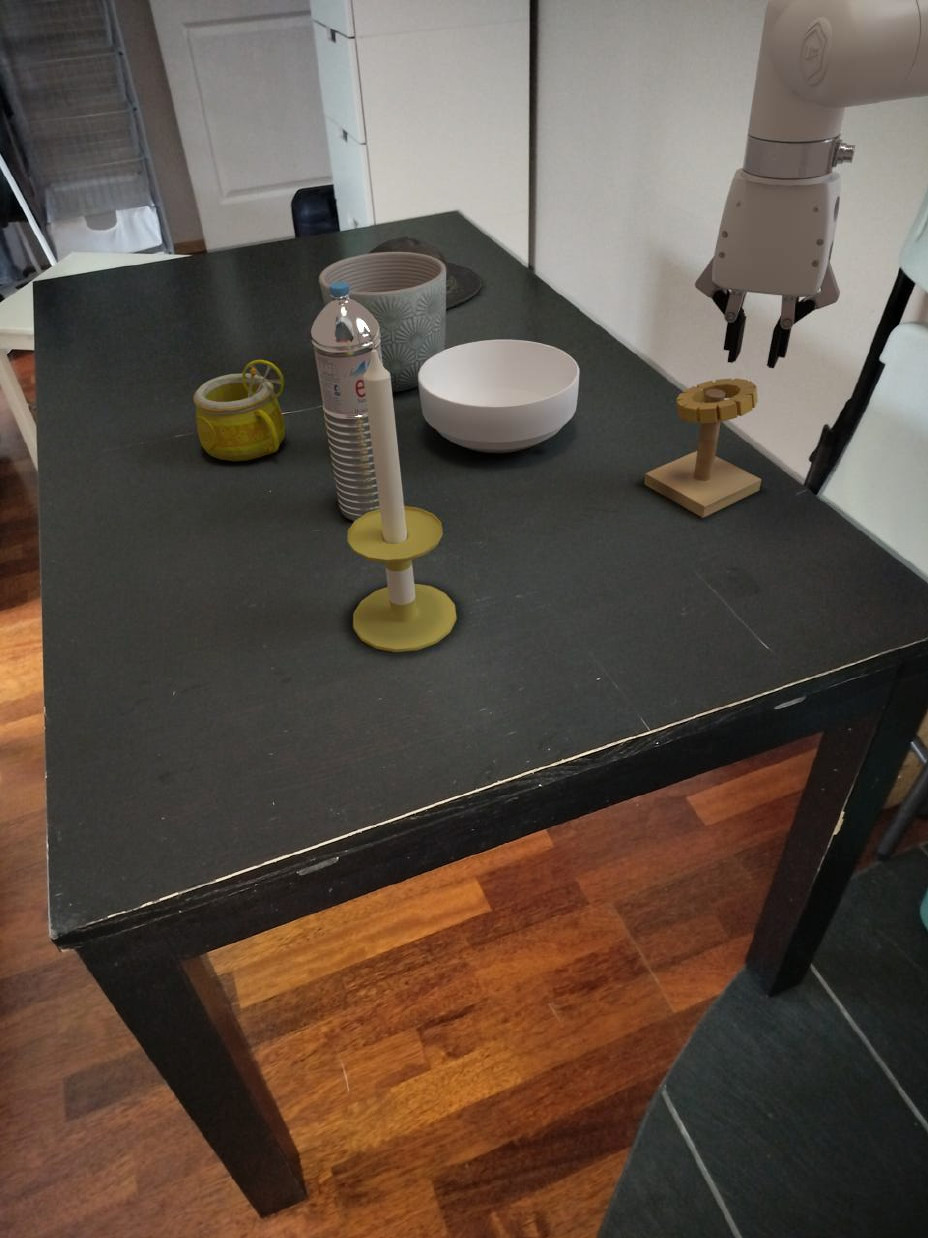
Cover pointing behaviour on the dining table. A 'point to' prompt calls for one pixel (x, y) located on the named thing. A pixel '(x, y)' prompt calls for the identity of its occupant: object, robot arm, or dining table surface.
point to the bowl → (499, 394)
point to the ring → (738, 404)
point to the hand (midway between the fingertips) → (753, 358)
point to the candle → (395, 542)
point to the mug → (240, 415)
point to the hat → (464, 276)
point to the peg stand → (703, 474)
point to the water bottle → (347, 396)
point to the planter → (398, 306)
